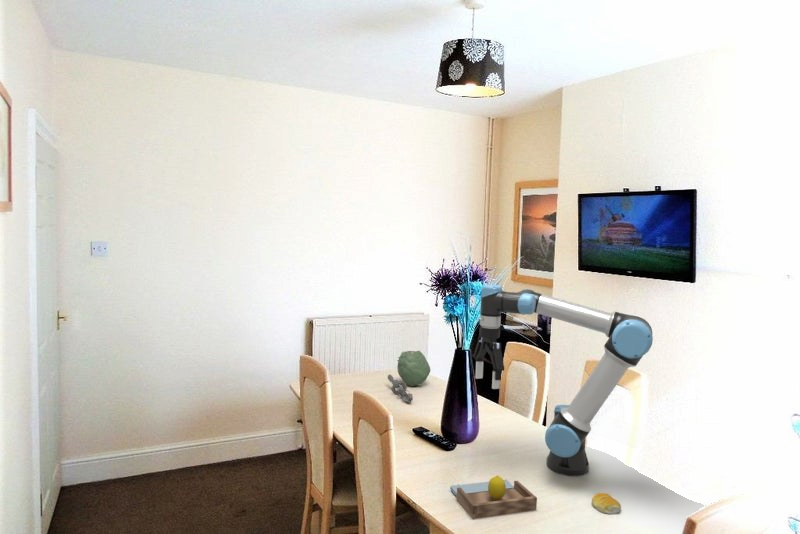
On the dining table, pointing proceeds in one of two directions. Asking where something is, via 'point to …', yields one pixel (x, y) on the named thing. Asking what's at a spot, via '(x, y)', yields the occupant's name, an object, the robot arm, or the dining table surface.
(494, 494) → the lemon
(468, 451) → the dining table surface
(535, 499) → the brown wooden tray
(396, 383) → the spaceship
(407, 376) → the cabbage
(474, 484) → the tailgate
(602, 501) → the bread roll
